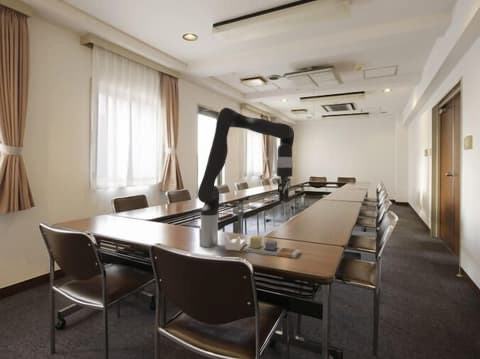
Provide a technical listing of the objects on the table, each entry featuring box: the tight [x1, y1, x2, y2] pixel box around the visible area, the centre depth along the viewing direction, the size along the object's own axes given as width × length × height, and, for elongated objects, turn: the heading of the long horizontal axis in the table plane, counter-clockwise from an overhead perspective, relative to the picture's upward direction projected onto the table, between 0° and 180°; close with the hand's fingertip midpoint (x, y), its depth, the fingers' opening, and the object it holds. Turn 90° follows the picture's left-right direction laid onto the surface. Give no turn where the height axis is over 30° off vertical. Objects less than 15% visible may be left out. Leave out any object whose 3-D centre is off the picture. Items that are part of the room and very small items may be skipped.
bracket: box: [225, 235, 247, 251], centre depth 146 cm, size 13×7×8 cm, turn 164°
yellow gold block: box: [249, 235, 263, 250], centre depth 139 cm, size 4×4×6 cm
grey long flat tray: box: [243, 243, 300, 259], centre depth 136 cm, size 26×9×3 cm, turn 65°
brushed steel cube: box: [264, 240, 278, 252], centre depth 136 cm, size 4×4×5 cm
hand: (284, 200), depth 133 cm, fingers open, 8 cm apart
